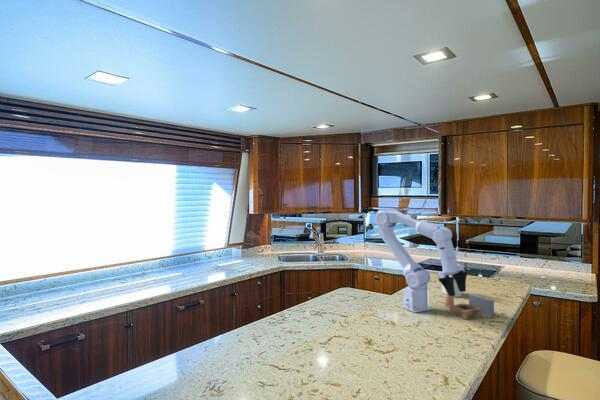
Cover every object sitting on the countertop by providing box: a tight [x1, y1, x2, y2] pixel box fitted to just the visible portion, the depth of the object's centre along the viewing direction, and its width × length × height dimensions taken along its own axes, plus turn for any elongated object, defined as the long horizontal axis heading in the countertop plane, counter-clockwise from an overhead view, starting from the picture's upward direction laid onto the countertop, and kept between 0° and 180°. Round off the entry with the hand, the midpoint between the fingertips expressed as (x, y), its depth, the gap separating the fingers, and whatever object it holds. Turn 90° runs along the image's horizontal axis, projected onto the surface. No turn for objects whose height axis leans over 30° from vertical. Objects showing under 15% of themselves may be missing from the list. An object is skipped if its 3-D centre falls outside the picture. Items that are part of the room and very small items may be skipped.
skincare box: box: [441, 263, 463, 298], centre depth 168 cm, size 8×6×15 cm
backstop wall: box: [468, 293, 495, 317], centre depth 143 cm, size 2×10×6 cm, turn 22°
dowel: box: [445, 291, 455, 308], centre depth 151 cm, size 3×3×8 cm
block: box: [449, 302, 483, 320], centre depth 140 cm, size 8×8×3 cm
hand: (457, 293), depth 137 cm, fingers open, 7 cm apart
